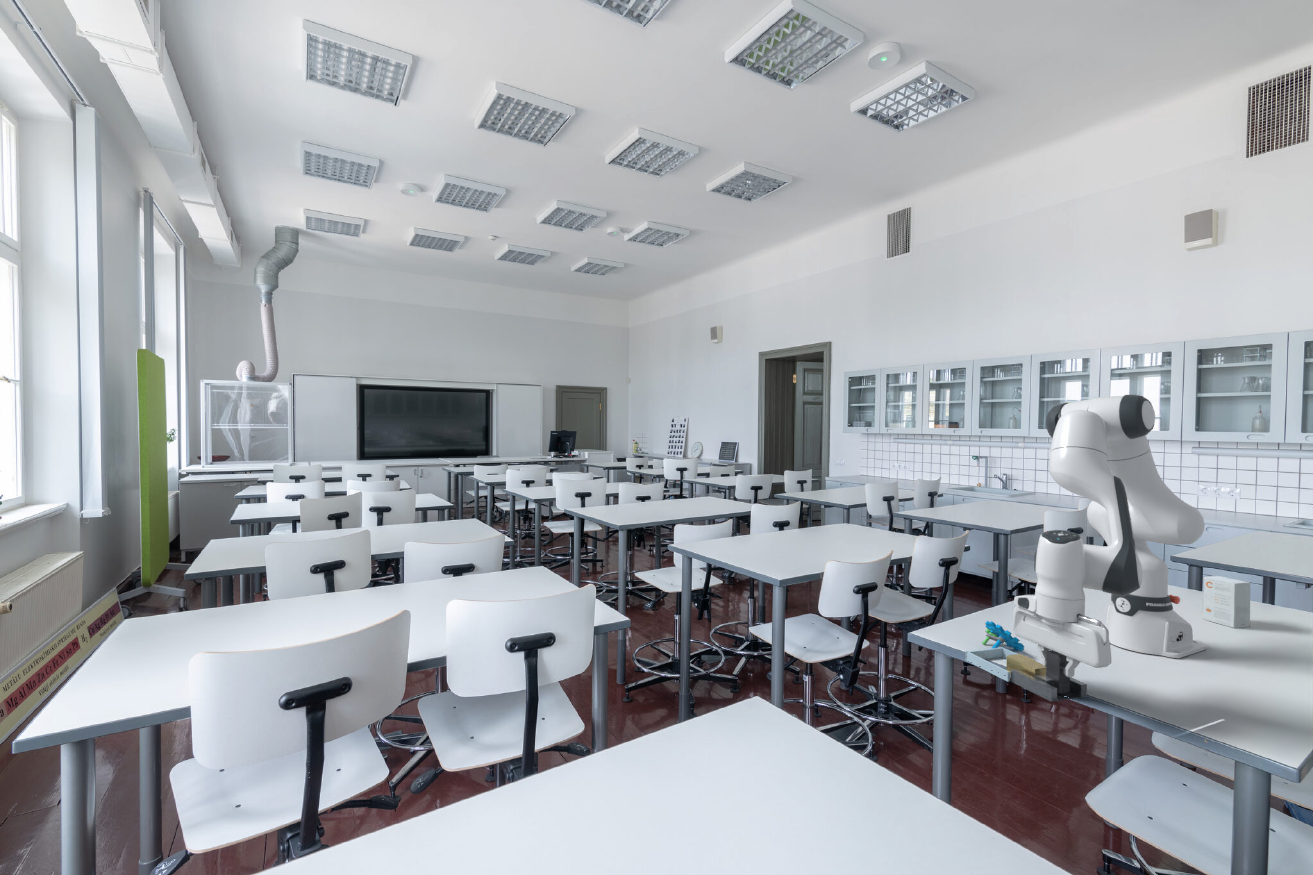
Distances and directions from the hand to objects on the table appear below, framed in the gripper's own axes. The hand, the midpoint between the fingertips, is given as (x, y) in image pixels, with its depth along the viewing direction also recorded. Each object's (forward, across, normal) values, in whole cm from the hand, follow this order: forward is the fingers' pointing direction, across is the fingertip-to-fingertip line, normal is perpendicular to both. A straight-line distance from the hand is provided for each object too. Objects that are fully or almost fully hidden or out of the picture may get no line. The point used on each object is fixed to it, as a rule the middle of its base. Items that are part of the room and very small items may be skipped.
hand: (1058, 671), depth 125 cm
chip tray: (+5, +13, 0) cm, 14 cm away
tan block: (+5, +9, 0) cm, 11 cm away
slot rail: (+5, +2, 0) cm, 5 cm away
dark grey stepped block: (+4, 0, 0) cm, 4 cm away
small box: (+6, +24, -92) cm, 95 cm away
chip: (+5, +6, 0) cm, 7 cm away
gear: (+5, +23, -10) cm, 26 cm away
